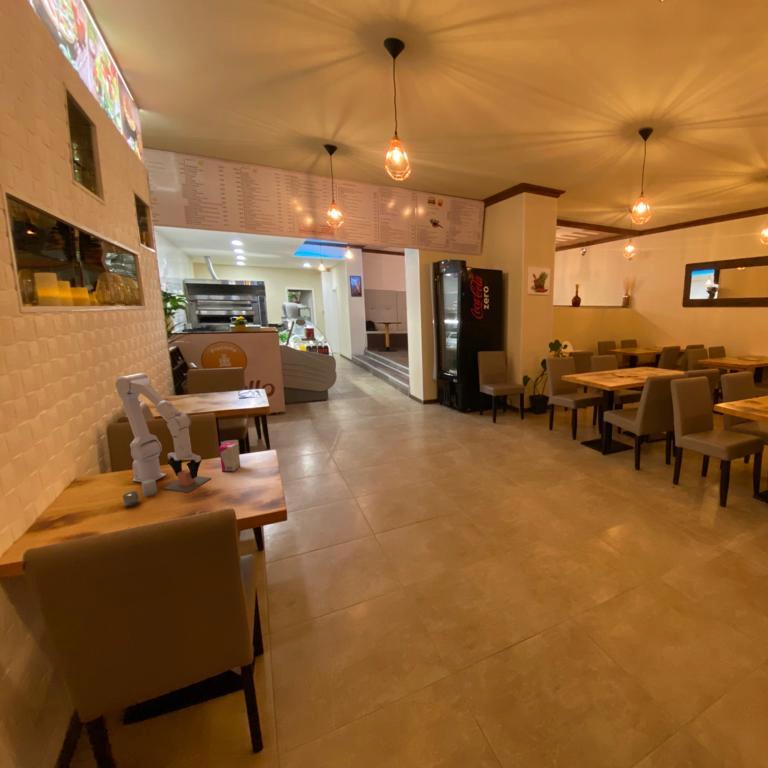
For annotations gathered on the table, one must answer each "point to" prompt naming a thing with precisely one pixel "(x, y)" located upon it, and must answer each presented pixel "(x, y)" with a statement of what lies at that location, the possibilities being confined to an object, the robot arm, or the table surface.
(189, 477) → the red block
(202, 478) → the charcoal mat
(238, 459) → the supplement box
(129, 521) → the table surface
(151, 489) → the grey domed cylinder
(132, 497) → the metal tin
